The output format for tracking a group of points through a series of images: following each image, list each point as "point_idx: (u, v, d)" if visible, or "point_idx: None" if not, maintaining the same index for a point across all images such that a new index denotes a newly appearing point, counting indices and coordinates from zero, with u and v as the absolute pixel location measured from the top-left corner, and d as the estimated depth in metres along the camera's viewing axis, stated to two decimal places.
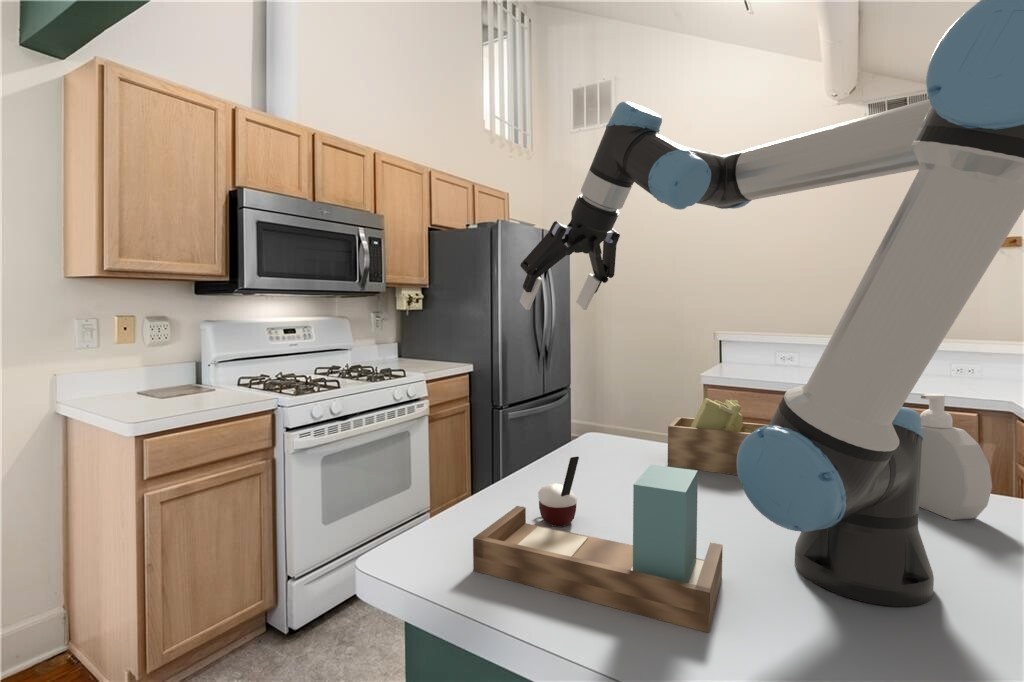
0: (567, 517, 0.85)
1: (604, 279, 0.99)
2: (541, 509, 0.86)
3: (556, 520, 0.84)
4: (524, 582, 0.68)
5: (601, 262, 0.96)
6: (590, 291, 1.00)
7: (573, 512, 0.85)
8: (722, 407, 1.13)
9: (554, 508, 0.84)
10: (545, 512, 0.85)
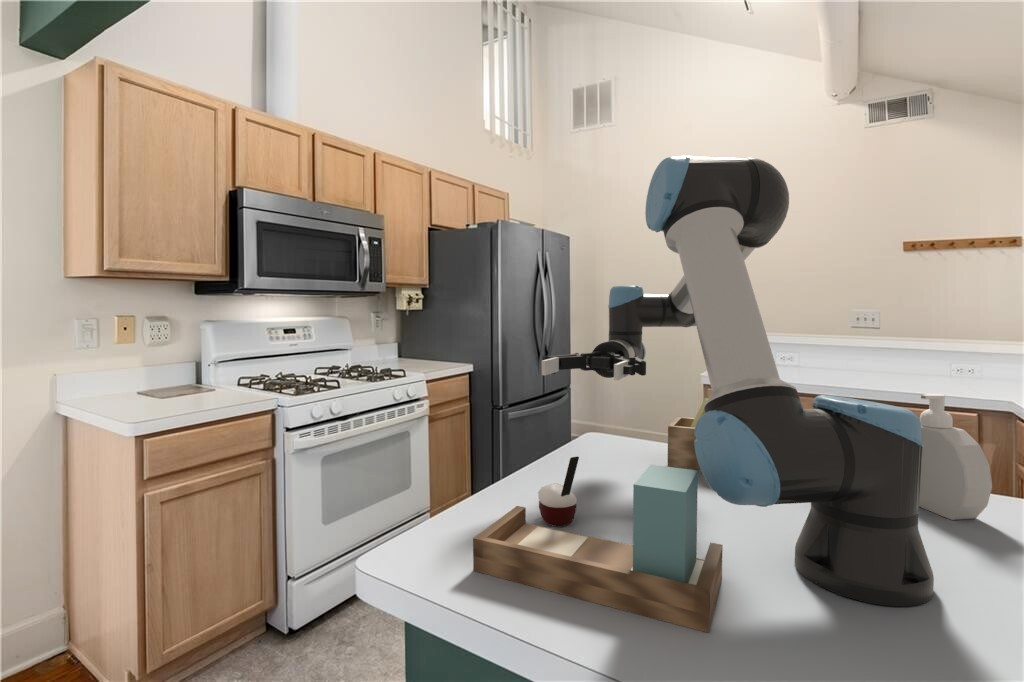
0: (567, 517, 0.85)
1: None
2: (541, 509, 0.86)
3: (556, 520, 0.84)
4: (524, 582, 0.68)
5: (624, 359, 1.00)
6: None
7: (573, 512, 0.85)
8: None
9: (554, 508, 0.84)
10: (545, 512, 0.85)
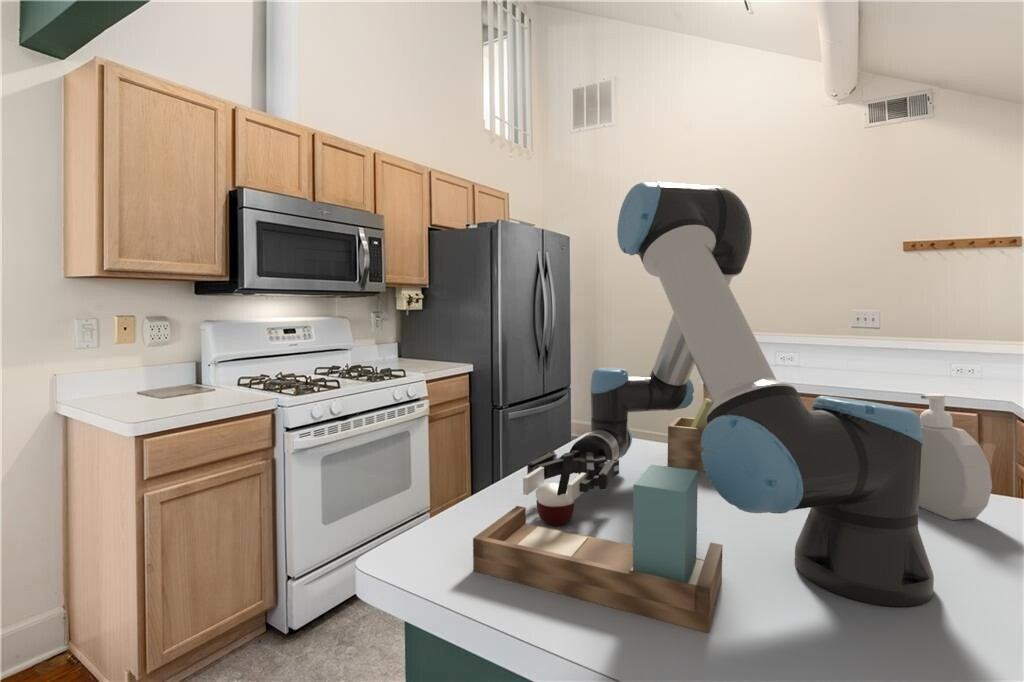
0: (564, 516, 0.85)
1: None
2: (538, 508, 0.86)
3: (553, 519, 0.85)
4: (524, 582, 0.68)
5: (592, 466, 0.90)
6: None
7: (570, 511, 0.85)
8: None
9: (550, 507, 0.84)
10: (542, 511, 0.85)
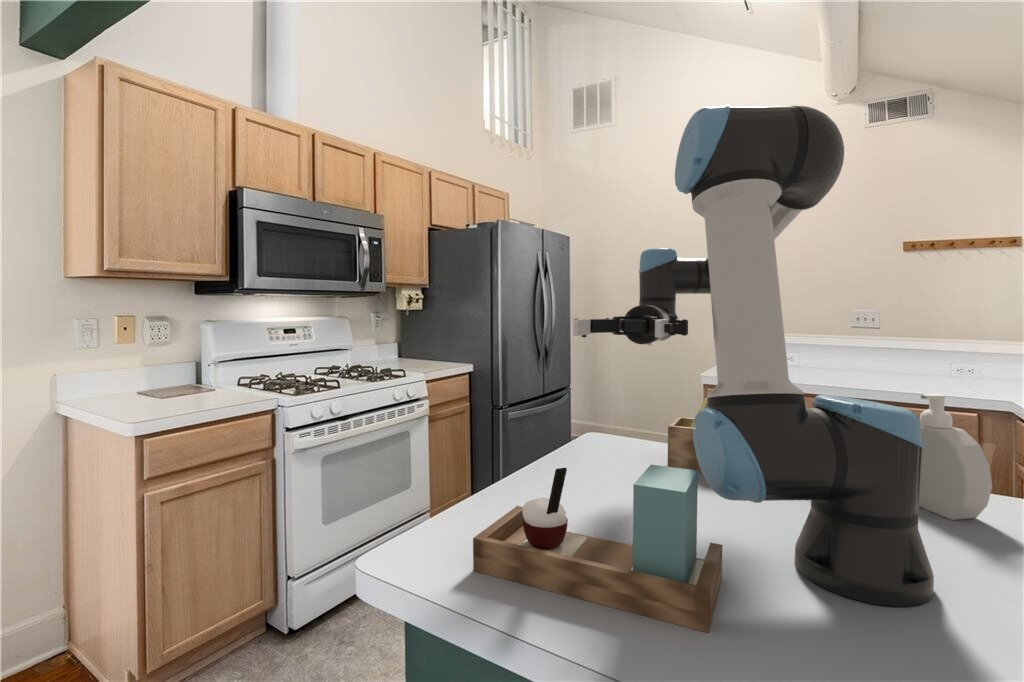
0: (554, 539, 0.71)
1: None
2: (524, 528, 0.73)
3: (541, 542, 0.71)
4: (524, 582, 0.68)
5: None
6: None
7: (562, 533, 0.72)
8: None
9: (538, 528, 0.71)
10: (528, 532, 0.72)
